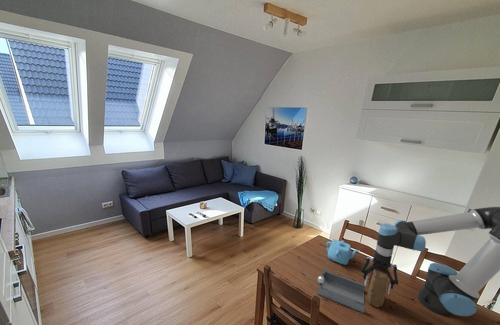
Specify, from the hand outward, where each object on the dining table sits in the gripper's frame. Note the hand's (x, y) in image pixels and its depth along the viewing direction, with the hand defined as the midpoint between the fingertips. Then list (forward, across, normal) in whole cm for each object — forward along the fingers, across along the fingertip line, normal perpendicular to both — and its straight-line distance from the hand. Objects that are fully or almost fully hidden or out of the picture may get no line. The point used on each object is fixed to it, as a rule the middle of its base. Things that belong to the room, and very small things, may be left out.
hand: (376, 288), depth 116 cm
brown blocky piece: (+8, 0, 0) cm, 8 cm away
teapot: (+8, +20, -28) cm, 35 cm away
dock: (+8, +17, +4) cm, 19 cm away
